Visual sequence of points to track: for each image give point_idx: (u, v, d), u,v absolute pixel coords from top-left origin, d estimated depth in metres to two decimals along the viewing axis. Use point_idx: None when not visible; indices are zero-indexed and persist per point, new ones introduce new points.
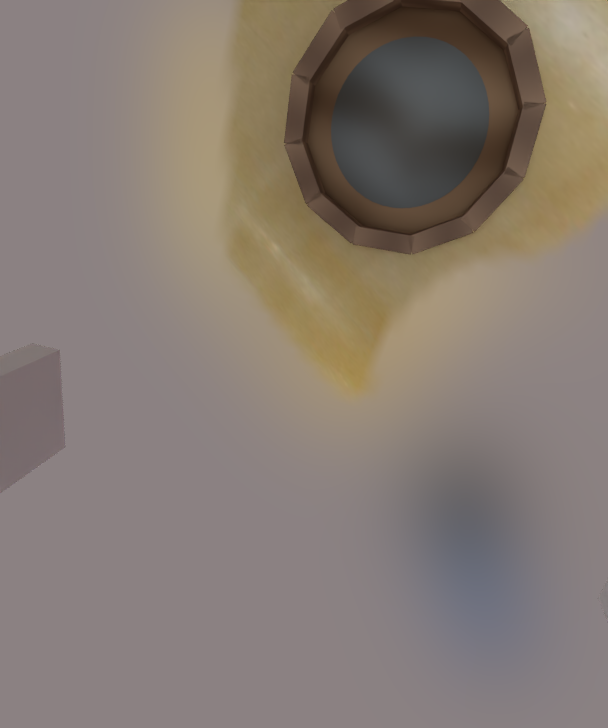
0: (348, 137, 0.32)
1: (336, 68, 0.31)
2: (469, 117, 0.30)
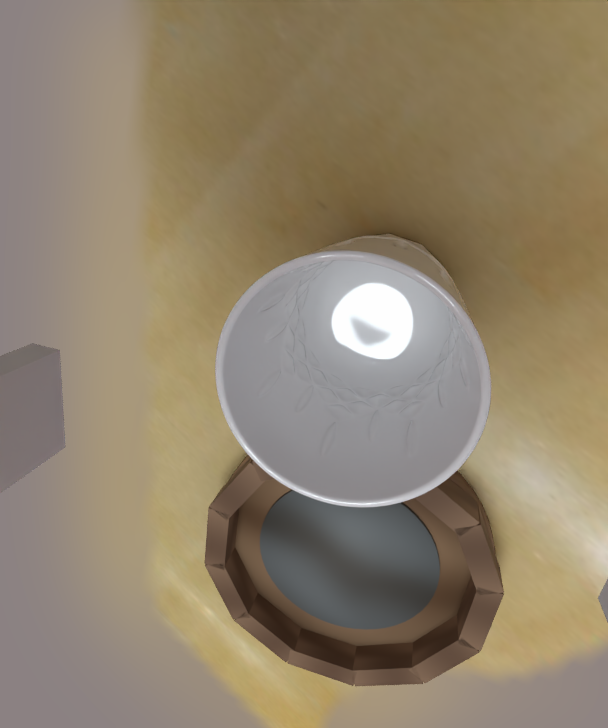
0: (279, 555, 0.28)
1: (263, 489, 0.27)
2: (416, 566, 0.26)
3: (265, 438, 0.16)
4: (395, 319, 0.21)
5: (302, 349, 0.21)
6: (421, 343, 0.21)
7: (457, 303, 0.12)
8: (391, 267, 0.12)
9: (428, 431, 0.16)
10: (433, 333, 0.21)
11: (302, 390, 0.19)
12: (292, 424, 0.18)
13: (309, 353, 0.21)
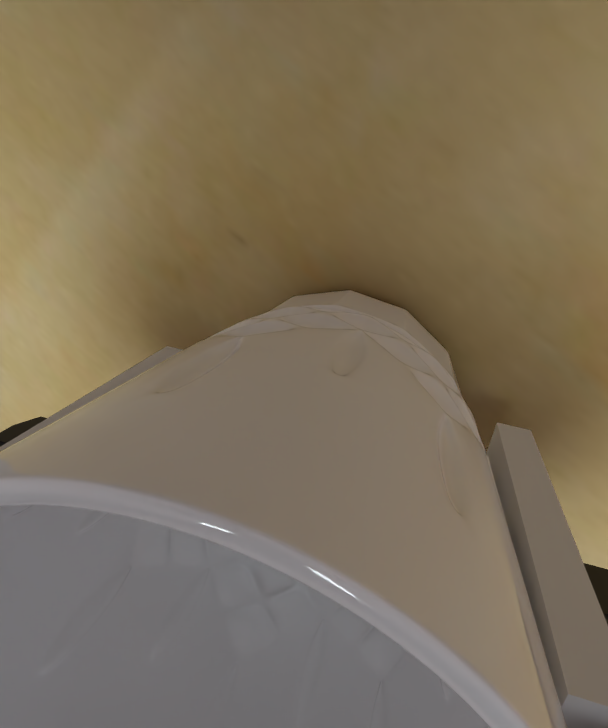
0: None
1: None
2: None
3: None
4: None
5: None
6: None
7: (505, 704, 0.03)
8: (255, 558, 0.03)
9: None
10: None
11: (180, 592, 0.10)
12: (133, 705, 0.08)
13: None
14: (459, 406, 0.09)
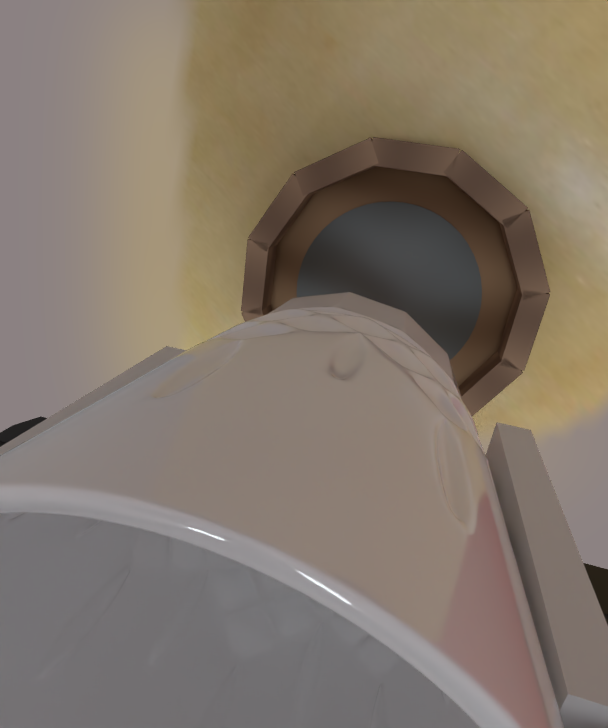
0: None
1: (301, 227, 0.27)
2: (458, 293, 0.25)
3: None
4: None
5: None
6: None
7: (504, 714, 0.03)
8: (252, 567, 0.03)
9: None
10: None
11: (179, 595, 0.10)
12: (132, 709, 0.08)
13: None
14: (459, 409, 0.09)
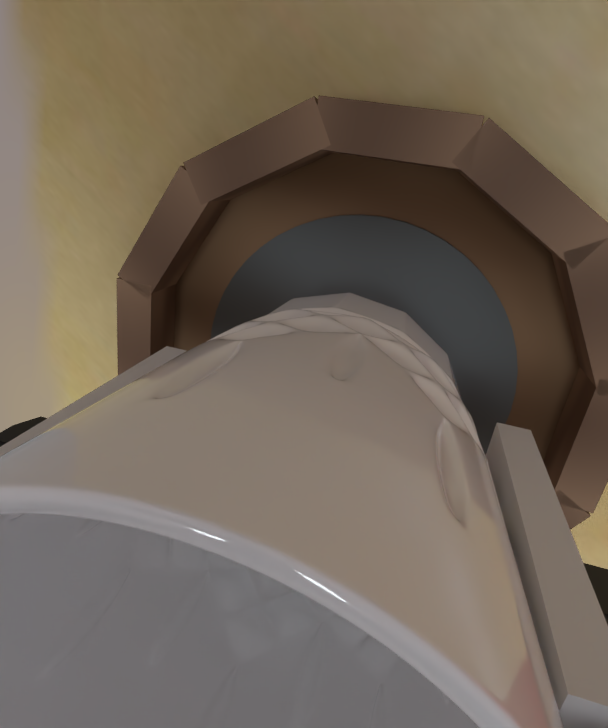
0: None
1: (212, 257, 0.16)
2: (476, 372, 0.15)
3: None
4: None
5: None
6: None
7: (504, 715, 0.03)
8: (253, 568, 0.03)
9: None
10: None
11: (179, 595, 0.10)
12: (132, 709, 0.08)
13: None
14: (458, 409, 0.09)
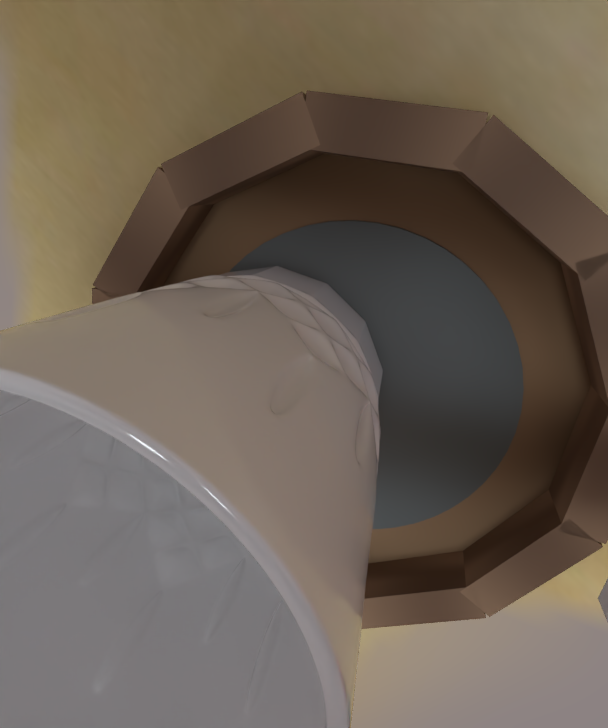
0: None
1: (195, 265, 0.15)
2: (478, 390, 0.14)
3: None
4: None
5: (131, 452, 0.13)
6: None
7: (236, 511, 0.04)
8: (61, 410, 0.04)
9: (290, 653, 0.09)
10: None
11: (113, 531, 0.12)
12: (60, 618, 0.10)
13: None
14: (347, 359, 0.10)
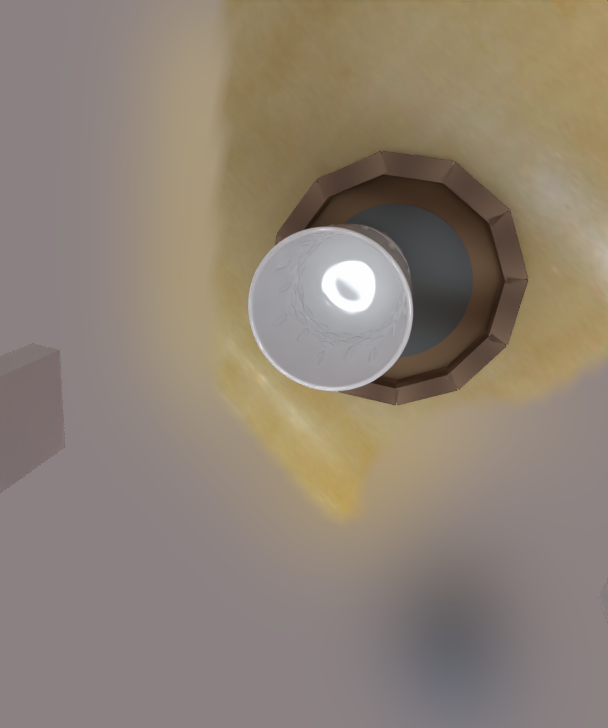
0: None
1: (321, 225, 0.31)
2: (453, 280, 0.30)
3: (278, 351, 0.25)
4: (366, 284, 0.30)
5: (301, 304, 0.29)
6: (384, 300, 0.30)
7: (391, 256, 0.21)
8: (353, 236, 0.21)
9: (383, 348, 0.25)
10: (392, 293, 0.29)
11: (301, 330, 0.28)
12: (295, 347, 0.26)
13: (306, 308, 0.30)
14: (400, 253, 0.27)
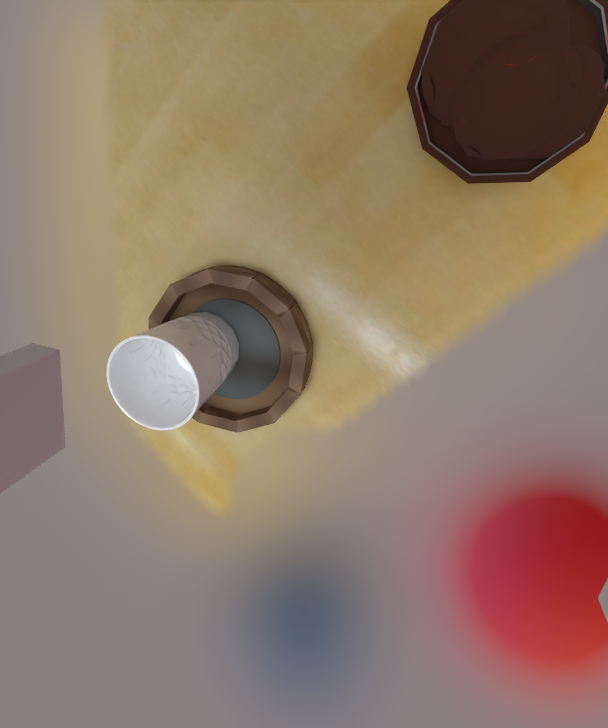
0: None
1: (181, 310, 0.46)
2: (267, 349, 0.45)
3: (130, 404, 0.39)
4: None
5: (162, 366, 0.44)
6: None
7: (182, 354, 0.36)
8: (160, 341, 0.36)
9: None
10: None
11: (158, 386, 0.43)
12: (147, 399, 0.41)
13: (167, 368, 0.45)
14: (216, 338, 0.41)
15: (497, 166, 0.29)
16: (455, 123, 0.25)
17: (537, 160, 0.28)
